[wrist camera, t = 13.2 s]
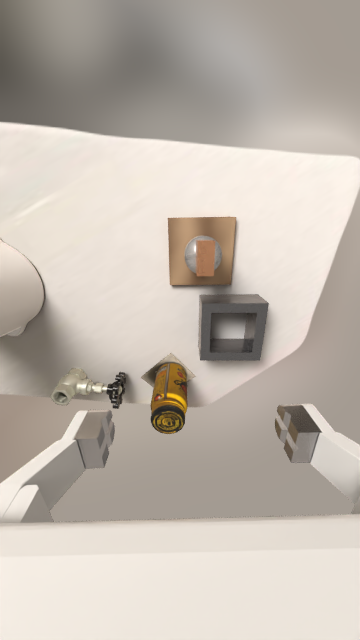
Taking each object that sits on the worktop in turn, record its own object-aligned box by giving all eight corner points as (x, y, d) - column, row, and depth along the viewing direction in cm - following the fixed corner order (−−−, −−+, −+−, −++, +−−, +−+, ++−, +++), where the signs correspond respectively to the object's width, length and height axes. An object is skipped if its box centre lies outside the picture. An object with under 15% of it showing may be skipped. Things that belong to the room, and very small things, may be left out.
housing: (198, 345, 40) (200, 360, 36) (199, 294, 37) (201, 303, 32) (251, 345, 40) (260, 360, 35) (257, 294, 36) (268, 303, 32)
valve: (69, 387, 45) (126, 391, 45) (51, 411, 39) (116, 416, 39) (65, 360, 42) (125, 365, 42) (45, 381, 36) (116, 387, 36)
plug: (184, 269, 34) (184, 280, 26) (184, 235, 32) (184, 236, 24) (215, 269, 34) (225, 280, 26) (217, 235, 32) (229, 235, 24)
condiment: (195, 375, 43) (199, 424, 32) (165, 397, 45) (159, 450, 34) (170, 352, 41) (166, 395, 30) (140, 376, 43) (125, 425, 32)
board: (170, 283, 36) (169, 284, 35) (168, 218, 32) (167, 218, 31) (229, 283, 36) (230, 284, 35) (234, 217, 32) (235, 216, 31)
